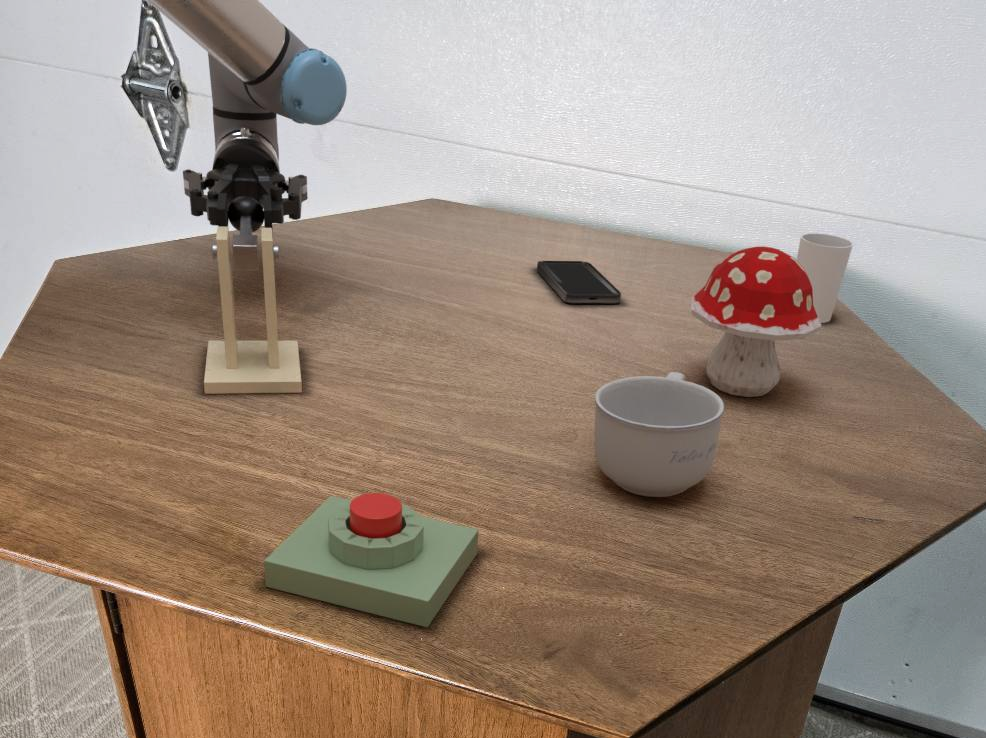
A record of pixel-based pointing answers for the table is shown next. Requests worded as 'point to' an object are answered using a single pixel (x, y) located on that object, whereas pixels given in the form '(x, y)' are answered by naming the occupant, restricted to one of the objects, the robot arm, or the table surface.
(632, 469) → the teacup
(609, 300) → the phone
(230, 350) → the bracket
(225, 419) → the table surface
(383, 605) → the control block
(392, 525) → the button
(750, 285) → the decorative mushroom
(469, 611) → the table surface
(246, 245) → the lever
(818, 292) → the drinking glass
